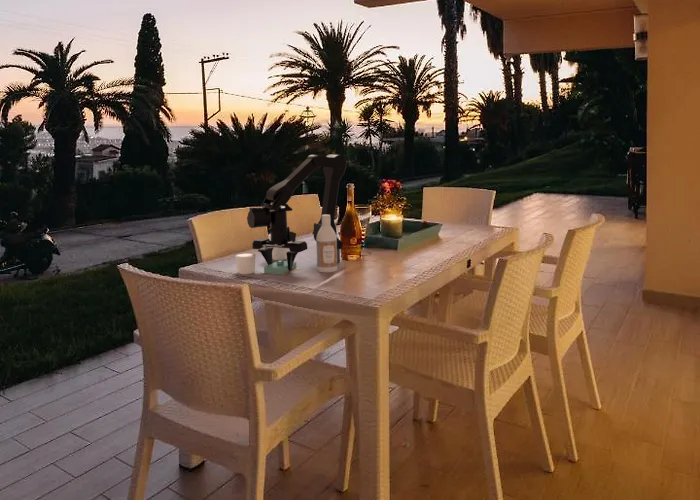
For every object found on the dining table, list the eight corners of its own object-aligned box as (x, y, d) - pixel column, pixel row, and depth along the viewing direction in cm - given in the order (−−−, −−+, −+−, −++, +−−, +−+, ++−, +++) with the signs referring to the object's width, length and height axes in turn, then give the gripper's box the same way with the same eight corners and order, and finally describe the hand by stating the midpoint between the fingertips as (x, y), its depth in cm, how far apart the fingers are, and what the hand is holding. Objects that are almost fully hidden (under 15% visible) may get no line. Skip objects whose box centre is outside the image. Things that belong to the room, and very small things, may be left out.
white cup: (286, 263, 222) (285, 236, 220) (266, 262, 224) (265, 236, 222) (293, 258, 230) (292, 232, 228) (273, 257, 231) (272, 232, 229)
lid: (296, 267, 210) (296, 258, 210) (282, 274, 202) (281, 265, 201) (279, 266, 213) (278, 257, 213) (264, 272, 204) (263, 263, 204)
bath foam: (319, 275, 203) (317, 217, 199) (315, 270, 210) (313, 214, 205) (339, 274, 205) (338, 215, 200) (335, 269, 211) (333, 213, 207)
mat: (300, 270, 210) (300, 268, 210) (286, 277, 201) (286, 274, 201) (275, 268, 214) (275, 265, 214) (260, 275, 205) (260, 272, 205)
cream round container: (260, 273, 208) (259, 253, 206) (249, 278, 202) (248, 257, 200) (243, 271, 211) (242, 252, 209) (232, 276, 204) (231, 256, 203)
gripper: (313, 222, 208) (315, 266, 211) (267, 219, 215) (269, 262, 218) (298, 227, 198) (300, 273, 201) (250, 224, 205) (252, 269, 208)
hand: (280, 269), depth 207 cm, fingers closed on lid, 7 cm apart
